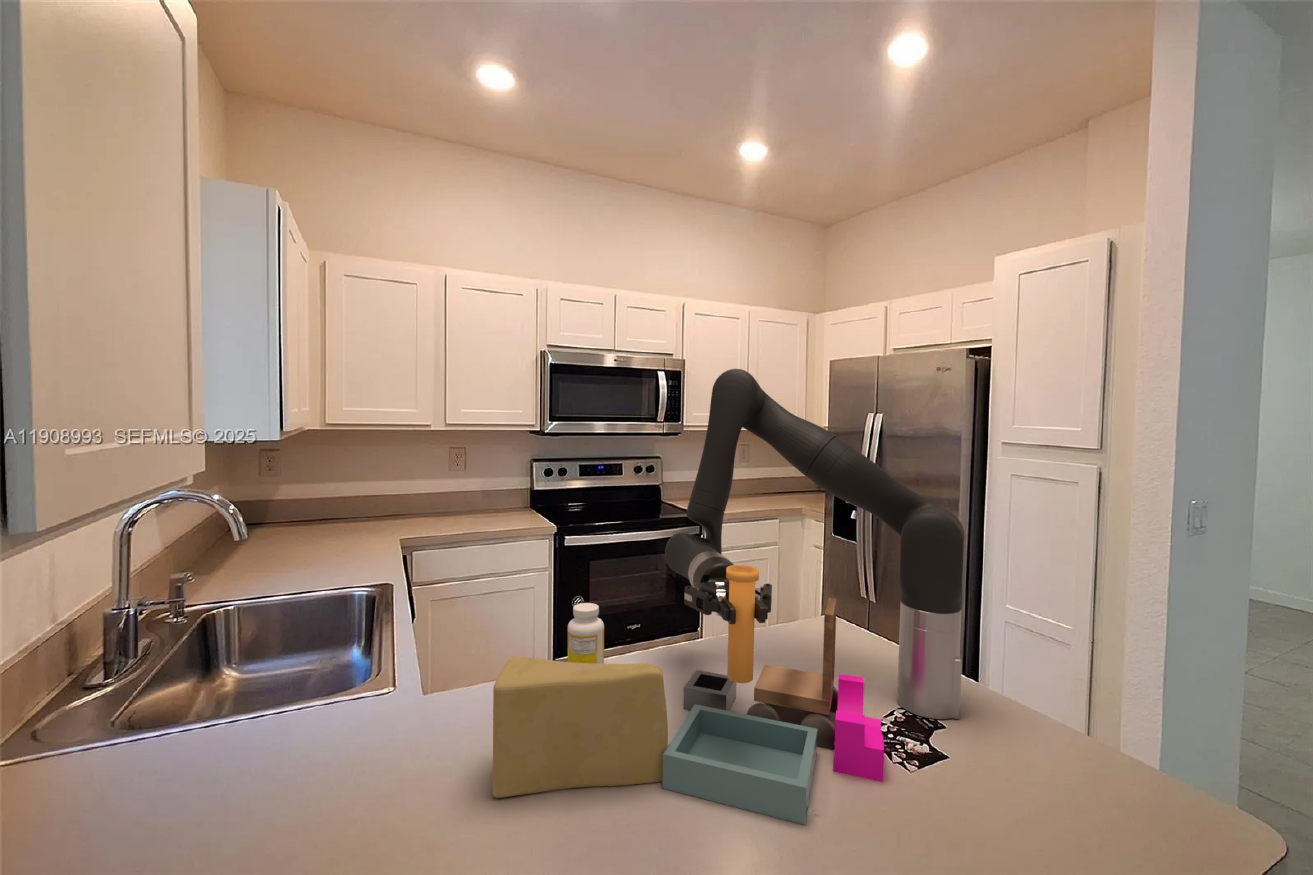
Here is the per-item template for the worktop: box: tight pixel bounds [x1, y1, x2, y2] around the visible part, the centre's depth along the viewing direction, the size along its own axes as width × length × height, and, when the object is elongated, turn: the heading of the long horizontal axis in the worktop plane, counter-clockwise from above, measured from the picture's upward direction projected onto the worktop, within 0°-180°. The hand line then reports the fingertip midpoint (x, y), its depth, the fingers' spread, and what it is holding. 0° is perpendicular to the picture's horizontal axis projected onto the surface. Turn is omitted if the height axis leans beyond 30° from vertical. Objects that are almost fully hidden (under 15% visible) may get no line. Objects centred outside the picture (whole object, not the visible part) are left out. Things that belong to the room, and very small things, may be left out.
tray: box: [662, 704, 818, 826], centre depth 79 cm, size 18×14×4 cm
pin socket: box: [682, 669, 737, 712], centre depth 96 cm, size 7×7×4 cm
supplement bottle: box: [567, 602, 605, 664], centre depth 107 cm, size 7×7×13 cm
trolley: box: [746, 597, 838, 750], centre depth 91 cm, size 13×12×20 cm
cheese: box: [492, 655, 669, 799], centre depth 77 cm, size 22×10×15 cm, turn 91°
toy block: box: [833, 673, 885, 783], centre depth 85 cm, size 15×6×8 cm, turn 161°
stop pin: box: [726, 564, 760, 684], centre depth 80 cm, size 4×4×15 cm
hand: (748, 616), depth 77 cm, fingers closed on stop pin, 3 cm apart
